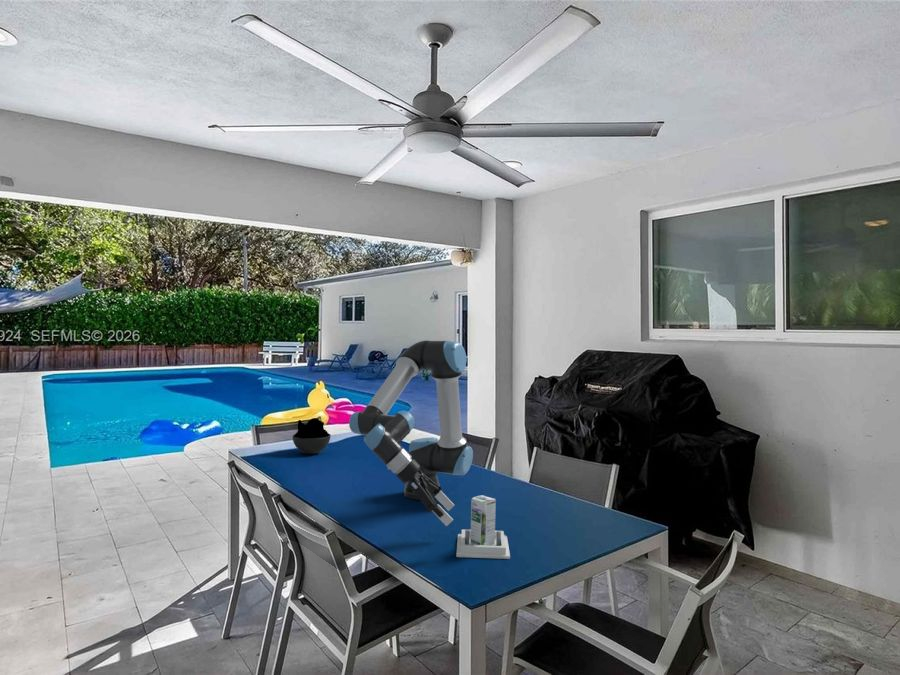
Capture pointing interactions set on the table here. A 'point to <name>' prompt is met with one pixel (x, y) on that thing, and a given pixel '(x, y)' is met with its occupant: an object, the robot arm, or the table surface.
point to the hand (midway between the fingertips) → (450, 515)
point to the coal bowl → (311, 436)
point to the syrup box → (483, 520)
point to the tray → (483, 547)
